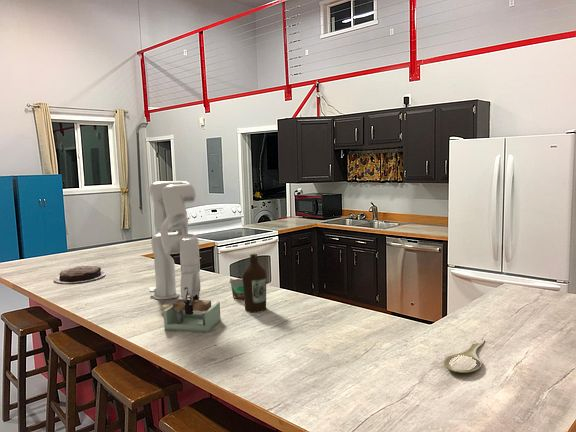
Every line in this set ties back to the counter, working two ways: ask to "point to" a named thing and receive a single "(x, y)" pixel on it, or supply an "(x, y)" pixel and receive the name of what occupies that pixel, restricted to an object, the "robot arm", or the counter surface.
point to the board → (197, 305)
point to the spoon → (469, 353)
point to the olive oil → (254, 286)
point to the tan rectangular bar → (166, 308)
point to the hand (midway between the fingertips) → (192, 311)
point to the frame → (192, 320)
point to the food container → (237, 288)
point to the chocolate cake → (80, 275)
